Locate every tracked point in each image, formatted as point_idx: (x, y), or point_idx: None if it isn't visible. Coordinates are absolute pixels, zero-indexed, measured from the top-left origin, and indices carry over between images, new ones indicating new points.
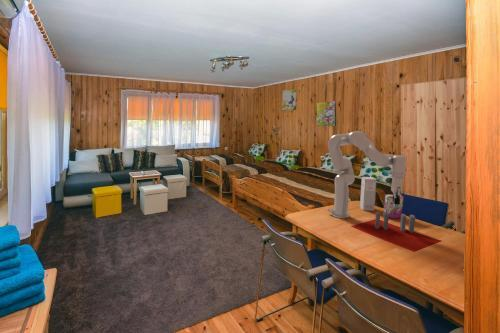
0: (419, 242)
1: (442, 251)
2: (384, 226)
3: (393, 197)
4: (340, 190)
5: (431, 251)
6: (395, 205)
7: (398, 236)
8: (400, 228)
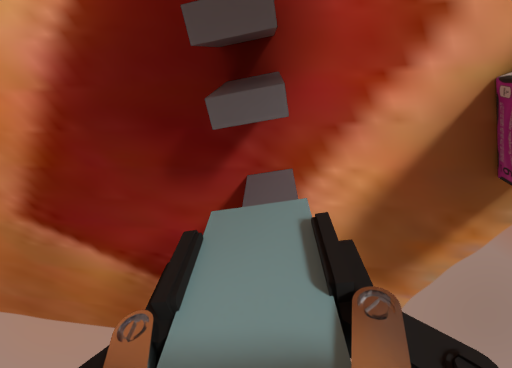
0: (141, 239)
1: (105, 295)
2: (223, 84)
3: (324, 266)
4: None
5: (76, 267)
6: (209, 230)
7: (156, 161)
8: (276, 173)
